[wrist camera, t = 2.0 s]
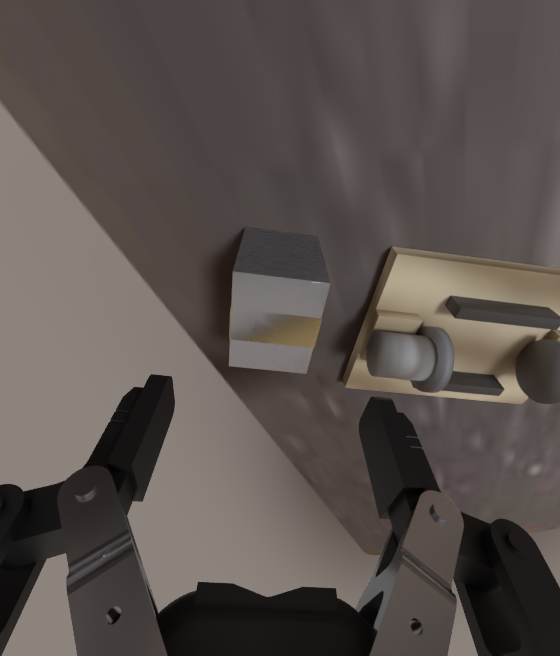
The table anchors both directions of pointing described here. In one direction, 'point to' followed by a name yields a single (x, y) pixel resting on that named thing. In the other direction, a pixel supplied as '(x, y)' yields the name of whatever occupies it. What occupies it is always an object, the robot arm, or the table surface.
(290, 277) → the block
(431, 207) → the table surface
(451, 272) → the beige flat board
